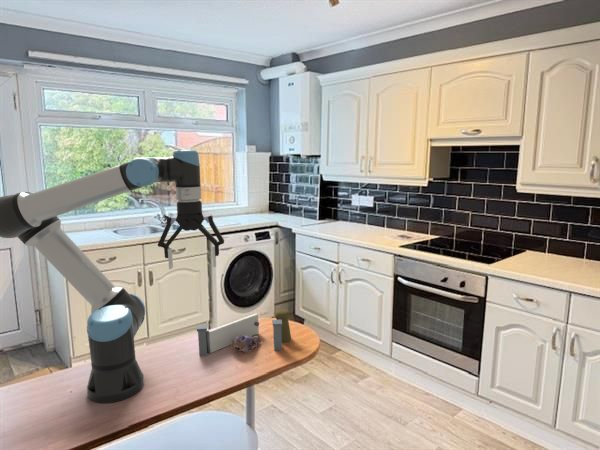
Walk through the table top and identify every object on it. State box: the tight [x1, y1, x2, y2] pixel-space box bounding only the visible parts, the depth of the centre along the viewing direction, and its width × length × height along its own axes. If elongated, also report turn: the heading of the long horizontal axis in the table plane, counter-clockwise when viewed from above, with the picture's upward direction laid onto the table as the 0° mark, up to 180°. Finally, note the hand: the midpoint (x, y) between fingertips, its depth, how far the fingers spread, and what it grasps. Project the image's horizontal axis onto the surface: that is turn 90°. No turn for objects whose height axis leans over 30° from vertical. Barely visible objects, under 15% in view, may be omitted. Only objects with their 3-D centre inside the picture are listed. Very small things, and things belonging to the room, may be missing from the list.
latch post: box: [271, 319, 283, 352], centre depth 146 cm, size 3×4×10 cm
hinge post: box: [196, 323, 209, 357], centre depth 142 cm, size 3×4×10 cm
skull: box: [231, 335, 261, 353], centre depth 146 cm, size 12×8×6 cm, turn 138°
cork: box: [274, 309, 292, 344], centre depth 153 cm, size 6×6×11 cm
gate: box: [206, 313, 260, 355], centre depth 150 cm, size 22×2×8 cm, turn 136°
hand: (193, 267), depth 134 cm, fingers open, 13 cm apart
